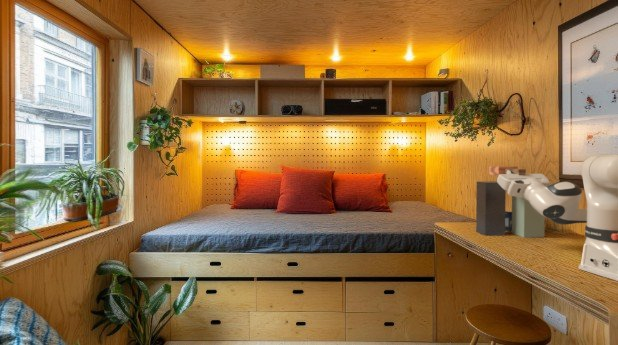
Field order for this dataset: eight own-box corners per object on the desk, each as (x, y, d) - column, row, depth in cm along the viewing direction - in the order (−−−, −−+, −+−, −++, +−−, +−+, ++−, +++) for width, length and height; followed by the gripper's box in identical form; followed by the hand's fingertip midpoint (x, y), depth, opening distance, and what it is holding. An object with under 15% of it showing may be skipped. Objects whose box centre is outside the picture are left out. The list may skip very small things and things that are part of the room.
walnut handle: (532, 176, 153) (532, 166, 153) (512, 176, 152) (512, 167, 152) (507, 174, 171) (507, 166, 171) (488, 174, 170) (489, 166, 170)
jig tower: (505, 235, 173) (505, 182, 172) (485, 235, 173) (485, 182, 172) (495, 231, 182) (495, 181, 181) (476, 231, 181) (476, 181, 180)
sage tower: (544, 237, 168) (545, 186, 167) (523, 237, 167) (524, 187, 167) (530, 232, 177) (531, 185, 176) (511, 233, 177) (512, 185, 176)
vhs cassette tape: (481, 228, 191) (481, 209, 191) (483, 227, 193) (483, 209, 193) (520, 232, 178) (520, 213, 178) (521, 232, 181) (521, 212, 180)
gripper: (558, 182, 146) (538, 165, 158) (509, 182, 145) (493, 165, 157) (552, 194, 149) (533, 176, 161) (505, 195, 148) (489, 177, 160)
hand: (513, 171), depth 159 cm, fingers closed on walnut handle, 3 cm apart
